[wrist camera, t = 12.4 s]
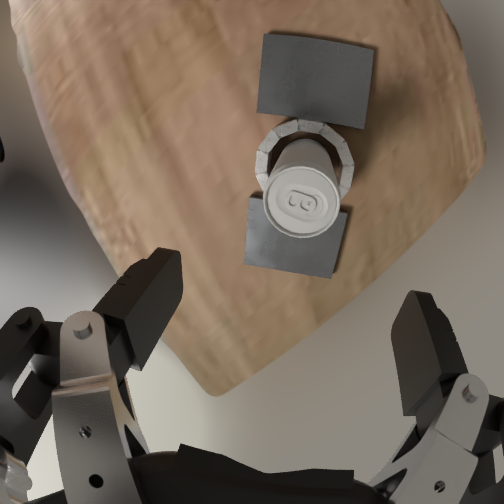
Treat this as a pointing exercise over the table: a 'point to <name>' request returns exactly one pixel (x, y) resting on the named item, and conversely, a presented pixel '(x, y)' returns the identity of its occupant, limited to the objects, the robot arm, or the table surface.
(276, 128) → the hinge model
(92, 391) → the robot arm
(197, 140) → the table surface
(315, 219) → the beverage can
